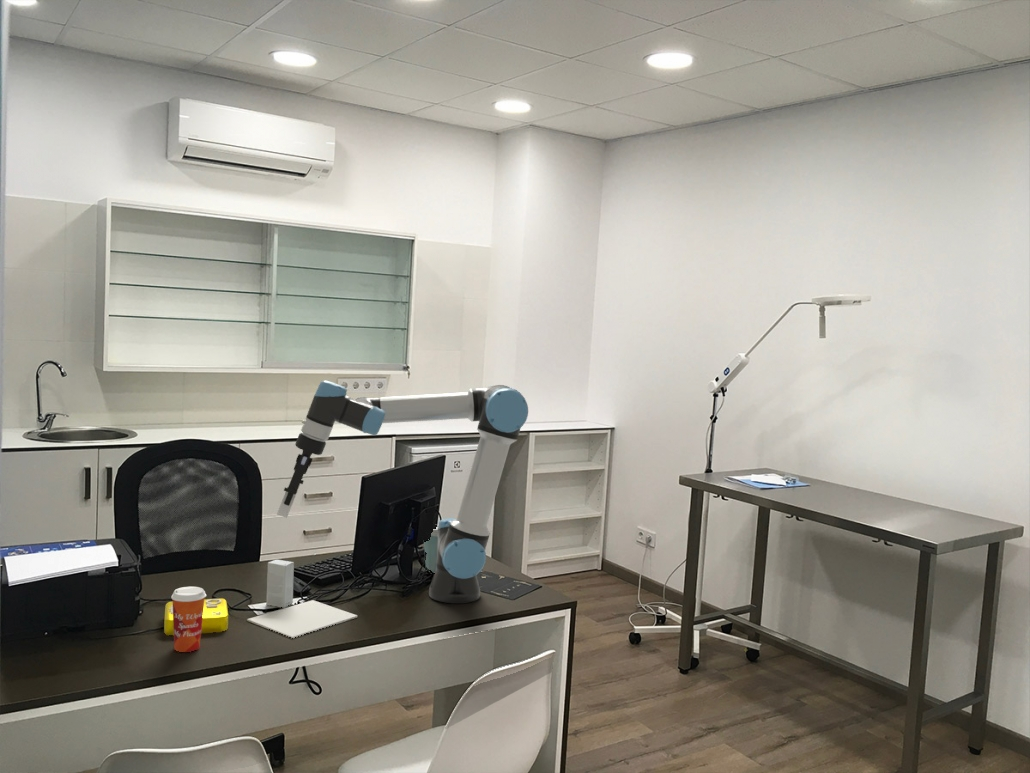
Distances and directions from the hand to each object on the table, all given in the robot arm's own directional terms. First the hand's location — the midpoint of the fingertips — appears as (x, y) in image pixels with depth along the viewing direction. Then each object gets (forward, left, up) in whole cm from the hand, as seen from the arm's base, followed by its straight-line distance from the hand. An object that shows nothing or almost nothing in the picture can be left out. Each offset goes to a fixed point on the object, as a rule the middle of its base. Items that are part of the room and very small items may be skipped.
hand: (284, 510), depth 229 cm
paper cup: (-5, +32, -28) cm, 43 cm away
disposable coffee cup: (-4, -59, -28) cm, 66 cm away
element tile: (+8, +21, -29) cm, 36 cm away
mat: (-9, 0, -28) cm, 29 cm away
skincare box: (+5, -3, -28) cm, 29 cm away
